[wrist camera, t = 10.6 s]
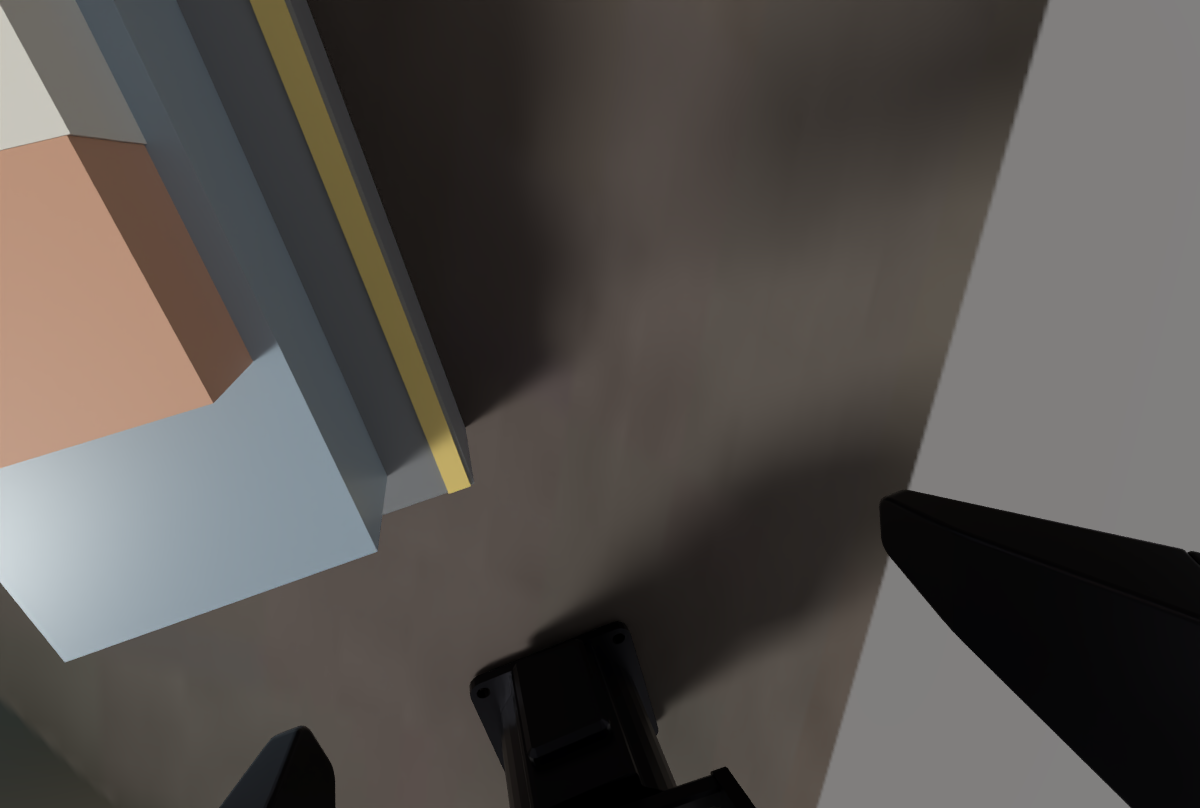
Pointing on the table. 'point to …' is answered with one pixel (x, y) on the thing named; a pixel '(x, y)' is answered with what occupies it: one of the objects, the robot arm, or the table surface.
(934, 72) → the table surface
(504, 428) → the table surface
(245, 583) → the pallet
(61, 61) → the off-white block
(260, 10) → the dock
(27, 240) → the salmon brown block
